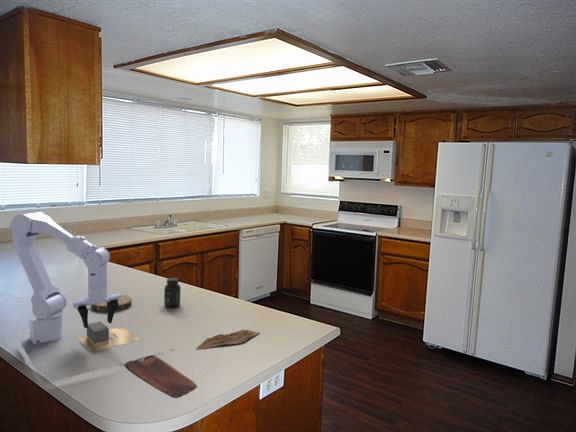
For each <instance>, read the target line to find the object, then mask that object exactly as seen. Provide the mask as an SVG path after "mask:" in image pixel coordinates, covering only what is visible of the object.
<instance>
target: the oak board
mask: <svg viewBox="0 0 576 432" xmlns="http://www.w3.org/2000/svg"><path fill="white" fill-rule="evenodd" d="M76 338H77V339H78V340H79V341H80V343H82V344H83V345H84V347H85V348H86V349H87V350H89V352H90V353H92V352H96V351H101V350H106V349H109V348H110V349H111V348H113V347H118V346H122V345H125V344H131V343H134V342H138V341H141V339H140V338H139V337H137V336H136V335H135V334H134V333H133V332H131V331H130V330H129V329H127V328H126V327H125V326H120V327H115V328H109V343H107V344H103V345H99V346H94V345H93V344H92V343H91V342H90V341H89V340H88V339H87V333H86V334H82V335H78V336H76Z"/></svg>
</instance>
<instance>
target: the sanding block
mask: <svg viewBox="0 0 576 432" xmlns="http://www.w3.org/2000/svg"><path fill="white" fill-rule="evenodd" d="M109 330H110V328H109V327H107V326H106V324H104V323H103V322H102V321H97V322H90V323H88V328H86V334H87V339H88V340H89V341H90V342H91V343H92V344H93V345H94V346H99V345H103V344H107V343H109Z"/></svg>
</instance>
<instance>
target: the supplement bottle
mask: <svg viewBox="0 0 576 432" xmlns="http://www.w3.org/2000/svg"><path fill="white" fill-rule="evenodd" d="M163 289H164V290H163V291H164V293H163V295H164V296H163V297H164V298H163V304H164V307H165V308H167V309H176V308H178V307H180V306H181V285H180V284H179V278H177V277H169V278H167V279H166V284H165V285H164V288H163Z"/></svg>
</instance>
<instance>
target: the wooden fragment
mask: <svg viewBox="0 0 576 432" xmlns="http://www.w3.org/2000/svg"><path fill="white" fill-rule="evenodd" d="M259 334H260V332H259V331H254V330H249V329H241V330H238V331H236V332H231V333H229V334H228V333H225V334H222V333H221V334H216V335H214V336H212V337H208V338H207V337H206V339H205V340H204V341H203V342H202V343H201V344H199V345H198V346H197V347H196V348H195V350H201V349H208V348H215V347H221V346H226V345H236V344H244V343H245V342H247V341H248V340H249V339H251V338H253V337H255V336H256V335H259Z"/></svg>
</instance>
